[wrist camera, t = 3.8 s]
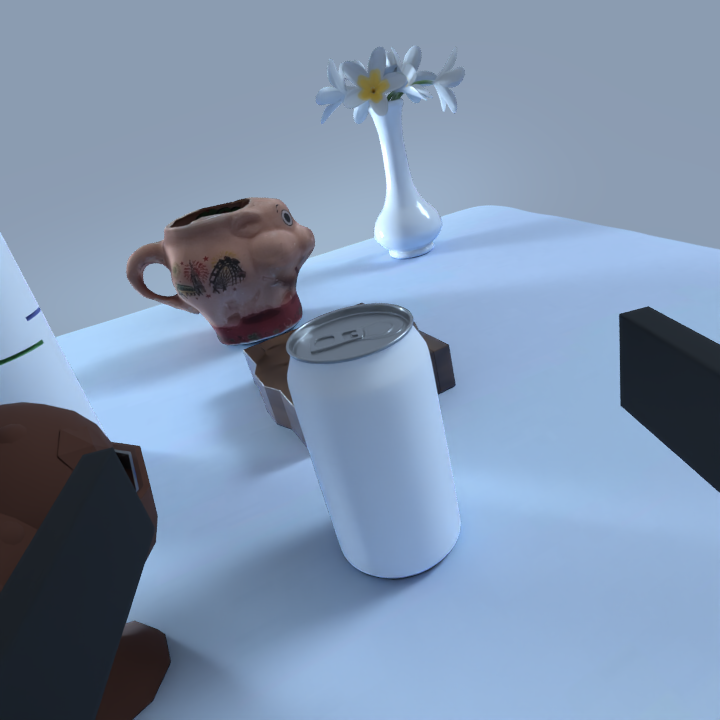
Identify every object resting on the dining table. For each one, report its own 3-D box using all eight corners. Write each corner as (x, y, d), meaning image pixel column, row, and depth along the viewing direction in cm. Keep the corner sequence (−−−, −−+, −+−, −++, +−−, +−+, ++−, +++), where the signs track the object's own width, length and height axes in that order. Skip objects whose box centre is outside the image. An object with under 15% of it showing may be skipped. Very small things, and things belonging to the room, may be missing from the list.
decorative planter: (149, 382, 54) (88, 249, 48) (168, 337, 65) (120, 224, 59) (340, 328, 55) (304, 192, 49) (327, 293, 66) (296, 178, 60)
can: (479, 564, 25) (440, 339, 20) (347, 599, 25) (274, 382, 20) (443, 479, 31) (406, 288, 26) (336, 508, 31) (277, 321, 26)
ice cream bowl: (94, 885, 18) (-223, 562, 11) (-72, 756, 23) (-352, 488, 16) (273, 612, 26) (151, 331, 19) (119, 564, 31) (-18, 332, 24)
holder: (304, 459, 36) (290, 416, 35) (248, 386, 48) (235, 352, 46) (463, 382, 40) (456, 341, 39) (375, 332, 52) (368, 299, 51)
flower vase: (498, 236, 71) (474, 21, 61) (375, 280, 67) (326, 54, 56) (446, 225, 83) (419, 41, 72) (338, 261, 78) (291, 70, 67)
